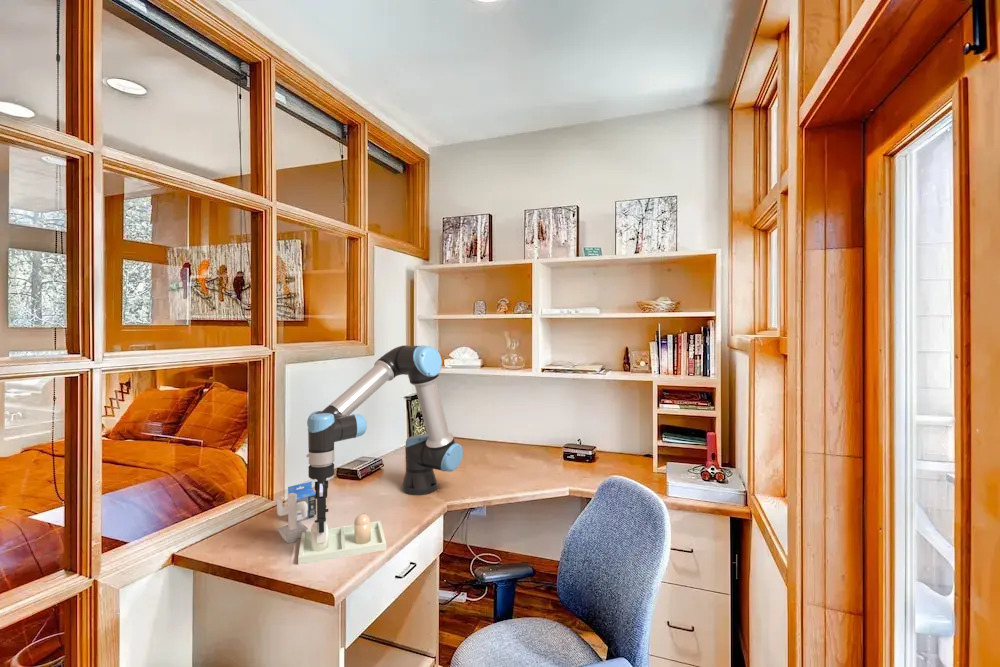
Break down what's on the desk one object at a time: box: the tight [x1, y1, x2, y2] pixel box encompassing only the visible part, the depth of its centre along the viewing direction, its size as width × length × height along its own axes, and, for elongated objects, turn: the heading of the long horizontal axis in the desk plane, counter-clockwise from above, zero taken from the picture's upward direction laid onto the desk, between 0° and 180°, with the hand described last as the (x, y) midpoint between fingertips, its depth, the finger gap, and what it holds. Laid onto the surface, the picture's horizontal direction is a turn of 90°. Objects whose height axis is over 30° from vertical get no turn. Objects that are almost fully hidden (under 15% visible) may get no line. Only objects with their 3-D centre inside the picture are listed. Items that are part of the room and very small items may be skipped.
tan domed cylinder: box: [353, 513, 371, 544], centre depth 148 cm, size 5×5×8 cm
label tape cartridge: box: [287, 481, 317, 522], centre depth 169 cm, size 9×4×12 cm, turn 135°
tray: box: [297, 520, 387, 566], centre depth 146 cm, size 25×18×3 cm
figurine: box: [276, 493, 308, 544], centre depth 152 cm, size 7×9×15 cm
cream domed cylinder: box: [310, 522, 329, 552], centre depth 144 cm, size 5×5×8 cm
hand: (321, 537), depth 144 cm, fingers closed on cream domed cylinder, 5 cm apart
